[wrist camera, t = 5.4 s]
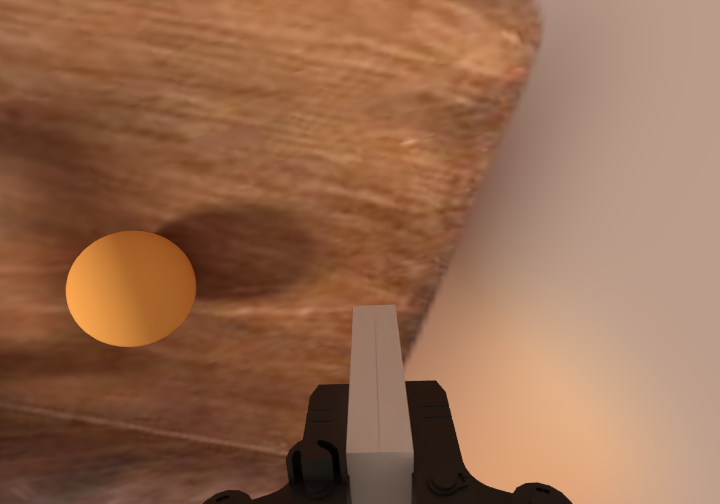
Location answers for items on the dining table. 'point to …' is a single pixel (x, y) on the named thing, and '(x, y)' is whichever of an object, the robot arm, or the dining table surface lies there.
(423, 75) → the dining table surface
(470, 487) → the robot arm
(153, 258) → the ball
